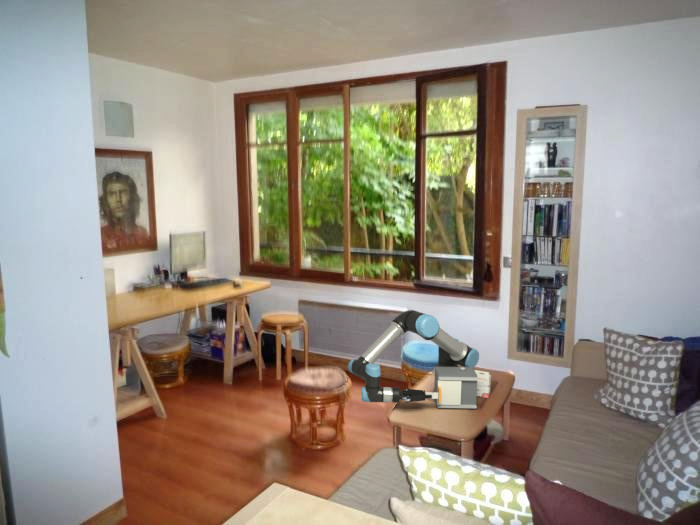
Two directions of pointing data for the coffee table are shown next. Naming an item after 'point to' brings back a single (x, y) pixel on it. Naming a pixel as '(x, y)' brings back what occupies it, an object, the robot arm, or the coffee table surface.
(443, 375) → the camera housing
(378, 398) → the robot arm
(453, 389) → the white boxy piece
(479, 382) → the ink cartridge box
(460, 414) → the coffee table surface
